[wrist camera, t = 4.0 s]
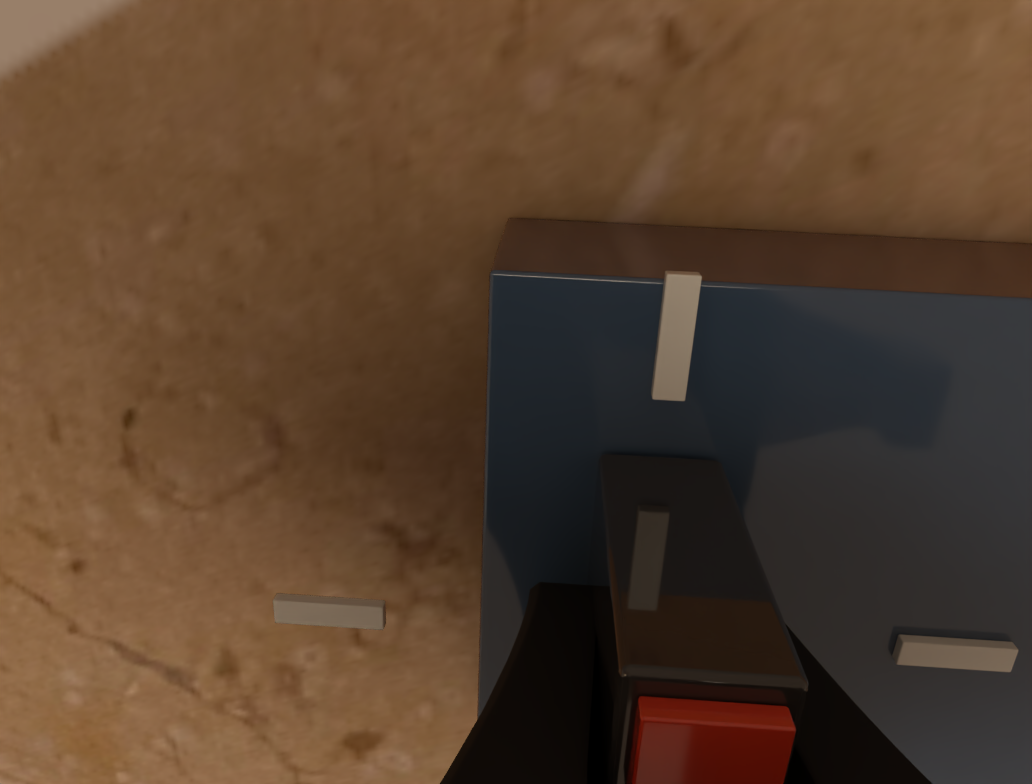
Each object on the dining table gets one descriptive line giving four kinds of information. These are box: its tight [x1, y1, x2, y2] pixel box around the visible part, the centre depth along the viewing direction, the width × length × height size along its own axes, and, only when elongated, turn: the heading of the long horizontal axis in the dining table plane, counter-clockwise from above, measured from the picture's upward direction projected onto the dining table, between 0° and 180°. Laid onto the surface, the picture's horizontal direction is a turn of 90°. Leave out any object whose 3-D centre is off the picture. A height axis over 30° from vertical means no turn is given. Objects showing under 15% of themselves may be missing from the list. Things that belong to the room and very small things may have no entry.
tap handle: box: [587, 454, 809, 784], centre depth 8 cm, size 5×1×4 cm, turn 178°
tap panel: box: [273, 218, 1032, 784], centre depth 11 cm, size 17×9×3 cm, turn 88°
